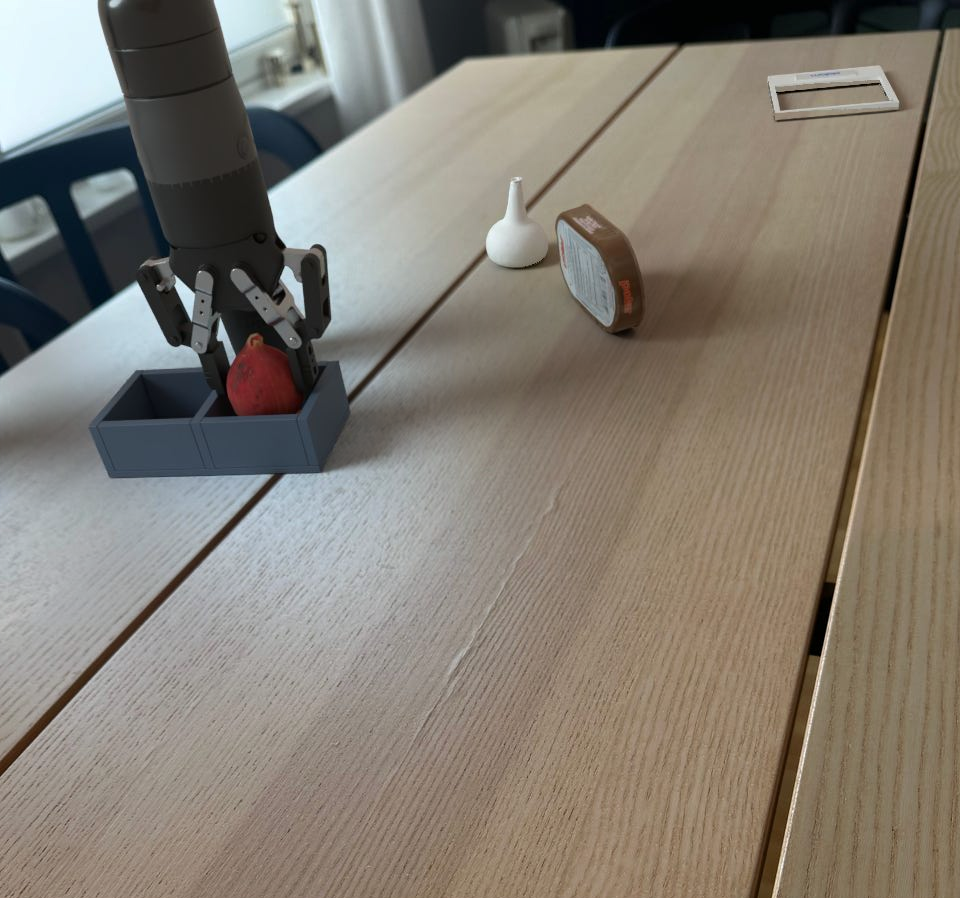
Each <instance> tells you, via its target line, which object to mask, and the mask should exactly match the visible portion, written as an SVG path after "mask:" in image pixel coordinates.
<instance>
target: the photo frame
mask: <svg viewBox="0 0 960 898" xmlns="http://www.w3.org/2000/svg"><path fill="white" fill-rule="evenodd" d="M865 80H866V81H867V80H880V82H881V84H882V86H883V88H884V90H885V92H886V94H887V96H888V98H889V100H890V101H888V100H885V101H874V102H864V103H852V104H842V105H829V106H819V107H807V108H797V109H787V110H786V109H785V110H781V107H780V102H779V99H778V98H779V97H778V93H776V89H775V87H782V86H783V87H784V86H793V85H794V86H795V85H803V84H814V83H830V82H853V81H865ZM768 81H769V86H770V91H771V96H772V101H773V105H774V110H775V113H785V112H786V113H787V112H799V111H811V110H812V111H813V110H832V109H835V110H836V109H841V110H844V109H847V110H848V109H862V108H879V107H880V108H882V107H883V108H884V107H898V108H899V106H900V101H899V99H898V97H897V95H896V93H895V91H894V89H893V87H892V85H891V84H890V82H889V79H888V78H887V76H886V74H885V72H884V70H883V68H882V67H881V65H879V64H878V65H869V66H859V67H848V68H838V69H836V68H835V69H827V70H817V71H807V72H805V71H804V72H794V73H787V74H786V73H785V74H775V75H774V74H773V75H768V76H767V82H768ZM892 100H893V101H892Z"/></svg>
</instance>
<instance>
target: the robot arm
mask: <svg viewBox="0 0 960 898" xmlns="http://www.w3.org/2000/svg"><path fill="white" fill-rule="evenodd" d="M97 14H98V19H99V22H100V27H101V31H102V34H103V37H104V40H105V43H106V46H107V50H108V53H109V55H110V59H111V62H112V65H113V68H114V72H115V75H116V77H117V81H118V84H119V88H120V90H121V93H122V94H123V95H122V97H123V100H124V104H125V107H126V111H127V112H126V113H127V118H128V124H129V129H130V134H131V136H132V140H133V143H134V147H135V150H136V157H137V161H138V163H139V165H140V167H141V168H142V171H143V175H144V178H145V180H146V184H147V188H148V190H149V193H150V197H151V200H152V203H153V206H154V208H155V209H154V210H155V212H156V214H157V215H156V216H157V218H158V221H159V224H160V227H161V231H162V233H163V236H164V238H165V240H166V241H167V242H168V245H169V256H168V257H164V258H160V257H159V256H157V255H152V256H149V258H148V259H147V260H145V261H144V262H143V263H142V264H141V265H140V267H139V268H138V269H137V270H136V271H135V273H134V279H135V280H136V282H137V284H138V287H139V288H140V290H141V292H142V294H143V296H144V298H145V300H146V302H147V303H148V306H149V308H150V310H151V312H152V314H153V317H154V319H155V320H156V322H157V323H158V326H159V328H160V330H161V332H162V334H163V336H164V338H165V340H166V343H168V345H170V347H173V348H180V346H184V347H188V348H191V349H192V350H193V351H194V352H195V353H196V354H197V356H198V359H199V363H200V365H201V367H202V368H203V372H204V375H205V377H206V381H207V384H208V385H209V387H210V388H211V389H212V390H216V393H217V395H218V397H228V393H227V387H226V382H227V375H228V371H229V369H230V366H231V364H230V361H229V357H228V353H227V351H226V347H225V344H224V341H223V340H218V335H219V328H220V323H221V318H220V316H221V313H228V312H231V311H233V310H236V309H238V310H243V311H258V313H259V314H260V315H261V317H262V318H263V319H264V321H265V322H266V323H267V324H268V325H271V326H273V327H274V328H275V329H276V331H277V332H278V333H279V335H280V336H281V337H282V339H283V340H284V341H285V343H286V344H287V345H288V348H287V349H286V352H287V356H288V359H289V363H290V367H291V371H292V374H293V378H294V382H295V386H296V389H297V392H298V393H308V392H309V391H310V389H311V387H312V385H313V384H314V382H315V380H316V379H317V377H318V371H319V370H318V366H317V362H318V361H317V359H316V354H315V351H314V347H313V343H312V342H313V340H319V339H321V338H322V337H323V335H324V334H325V332H326V330H327V328H328V327H329V325H330V324H331V322H332V307H331V305H332V304H331V295H330V294H331V293H330V279H329V278H330V277H329V267H328V254H327V253H328V252H327V250H326V248H325V246H324V245H322V244H319V243H314V244H312V245H311V246H310V248H309V249H305V248H293V247H287V245H286V243H285V242H284V241H283V240H282V239H281V237H280V236H279V234H278V232H277V229H276V225H275V222H274V221H275V220H274V215H273V214H274V213H273V211H272V210H273V209H272V206H271V202H270V199H269V194H268V190H267V186H266V182H265V178H264V174H263V170H262V166H261V162H260V158H259V154H258V151H257V146H256V143H255V142H256V141H255V138H254V135H253V130H252V127H251V123H250V122H251V121H250V119H249V115H248V112H247V109H246V106H245V103H244V100H243V98H242V95H241V92H240V90H239V87H238V84H237V81H236V78H235V75H234V72H233V69H232V68H233V67H232V64H231V59H230V56H229V52H228V49H227V44H226V41H225V37H224V33H223V30H222V29H223V28H222V25H221V19H220V17H219V13H218V9H217V7H216V2H215V0H97ZM285 267H288V268H289V269H290V270H291V272H292V273H293V278H294V279H295V281H296V282H297V283H300V284H301V286H302V296H303V306H304V307H303V308H304V315H303V313H302V311H301V310H300V309H299V308H298V306H297V305H296V301H295V298H294V295H293V293H292V292H291V291H290V290H289V288H288V287H287V285H286V284H285V283H284V282H283V280H282V279H281V277H282V276H283V273H284V270H285ZM177 279H179V281H181V282H182V283H183V284H184V285H185V286H186V287H187V288H188V289H189V290H190V291H191V292H192V293H193V294H194V301H193V308H192V315H191V317H190V315H189V313H188V311H187V309H186V307H185V304H184V302H183V301H182V298H181V296H180V294H179V292H178V290H177V288H176V286H175V285H176V284H177ZM271 297H272V299H273V301H272V300H271Z"/></svg>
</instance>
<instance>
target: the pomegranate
mask: <svg viewBox="0 0 960 898" xmlns="http://www.w3.org/2000/svg"><path fill="white" fill-rule="evenodd" d="M230 366H231V367H230V369H229V371H228V375H227V382H226V387H227V393H228V397H229V400H230V402H231V404H232V406H233V408H234V411H235V413H236V414H237V415H238V416H258V415H284V414H297V412H298V411H299V409H300V408H301V407H302V403H303V399H304V394H305V393H298V392H297V389H296V386H295V382H294V378H293V374H292V371H291V367H290V363H289V359H288V356H287V355H286V354H285V353H284V352H282V351H281V350H279V349H277V348H274V347H272V346H269V345H266V344H264V343H263V337H262V336H261V335H260V334H258V333H255V334H251V335H250V336H249V338H248V339H247V342H246V344H245V346H244V348H243V349H242V350H241V351H240V352H239V353H238V354H237V356H236V355H235V357H234V359H233V361H232V363H231V364H230Z"/></svg>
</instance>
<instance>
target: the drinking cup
mask: <svg viewBox="0 0 960 898" xmlns="http://www.w3.org/2000/svg"><path fill="white" fill-rule="evenodd" d="M271 300H272V301H273V299H272V297H271ZM220 321H221V322H222V325H223V327H224V330H225V333H226V335H227V337H228V341H229V343H230V345H231V347H232V350H233V353H234V356H235V357H236V356H237V354H238V353H239V352H240V351H241V350H242V349H243V348H244V346H245V344H246V342H247V339H248V338H249V336H250V335H251V334H255V333H258V334H260V335H261V336H262V337H263V343H264V344H266V345H269V346H272V347H274V348H277V349H279V350H281V351H282V352H284V353H285V354H286V355H287V352H286V349H287V348H288V345H287V344H286V343H285V341H284V340H283V339H282V337H281V336H280V335H279V333H278V332H277V331H276V329H275V328H274V327H273V326H271V325H268V324H267V323H266V322H265V321H264V319H263V318H262V317H261V315H260V314H259V313H258V311H243V310H238V309H236V310H233V311H231V312H228V313H221V316H220Z"/></svg>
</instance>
